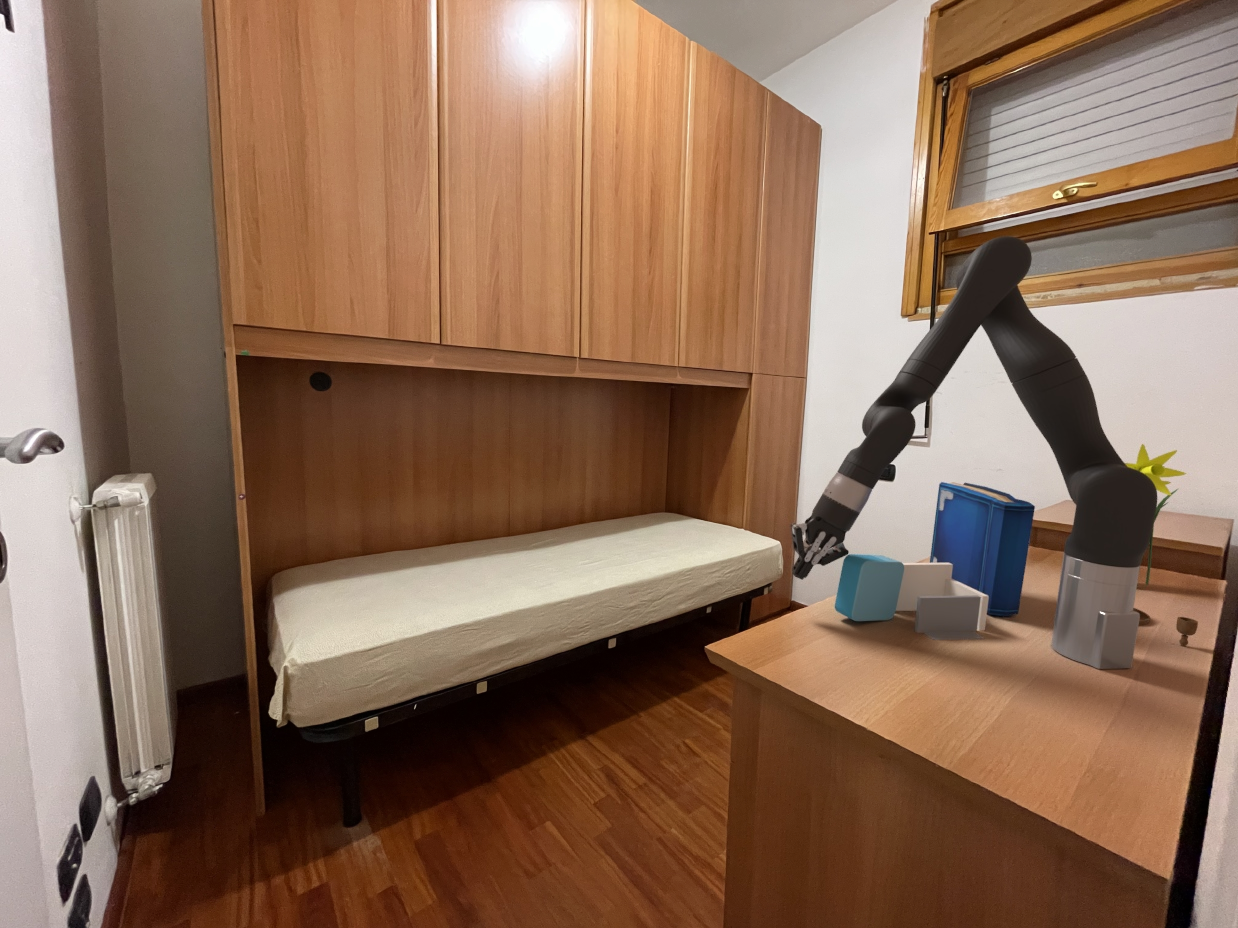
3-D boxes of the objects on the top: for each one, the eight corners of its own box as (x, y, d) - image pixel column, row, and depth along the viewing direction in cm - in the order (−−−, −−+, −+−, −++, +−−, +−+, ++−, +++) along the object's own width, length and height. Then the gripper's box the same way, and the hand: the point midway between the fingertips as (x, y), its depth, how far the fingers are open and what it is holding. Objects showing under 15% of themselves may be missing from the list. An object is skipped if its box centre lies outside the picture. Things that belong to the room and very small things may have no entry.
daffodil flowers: (1082, 568, 132) (1101, 439, 127) (1163, 584, 121) (1187, 443, 117) (1078, 584, 120) (1099, 442, 116) (1167, 602, 110) (1194, 447, 105)
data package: (874, 610, 102) (886, 555, 101) (894, 620, 98) (906, 562, 97) (832, 612, 97) (844, 553, 96) (851, 621, 93) (863, 560, 92)
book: (1026, 620, 99) (1041, 499, 95) (990, 619, 99) (1005, 498, 96) (955, 581, 120) (966, 481, 117) (925, 581, 120) (936, 480, 117)
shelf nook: (999, 639, 90) (1006, 587, 89) (928, 641, 89) (933, 588, 88) (943, 607, 104) (948, 562, 103) (881, 608, 103) (885, 563, 102)
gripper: (823, 493, 90) (776, 572, 93) (881, 521, 92) (833, 598, 95) (805, 482, 97) (762, 556, 100) (859, 508, 99) (815, 580, 102)
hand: (797, 576), depth 97 cm, fingers closed
